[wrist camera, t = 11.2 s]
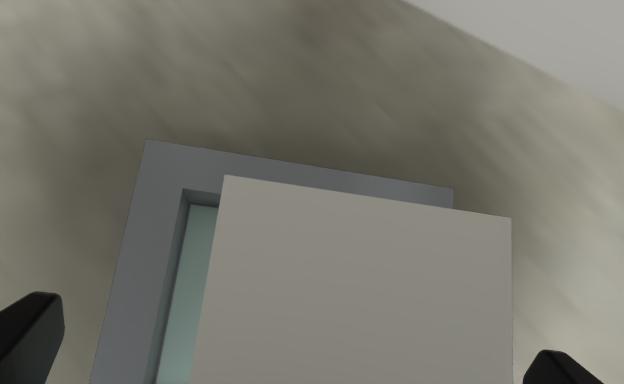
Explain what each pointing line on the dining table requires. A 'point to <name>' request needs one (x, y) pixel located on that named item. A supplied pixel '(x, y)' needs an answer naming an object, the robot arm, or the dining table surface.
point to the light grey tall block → (352, 291)
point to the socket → (193, 251)
